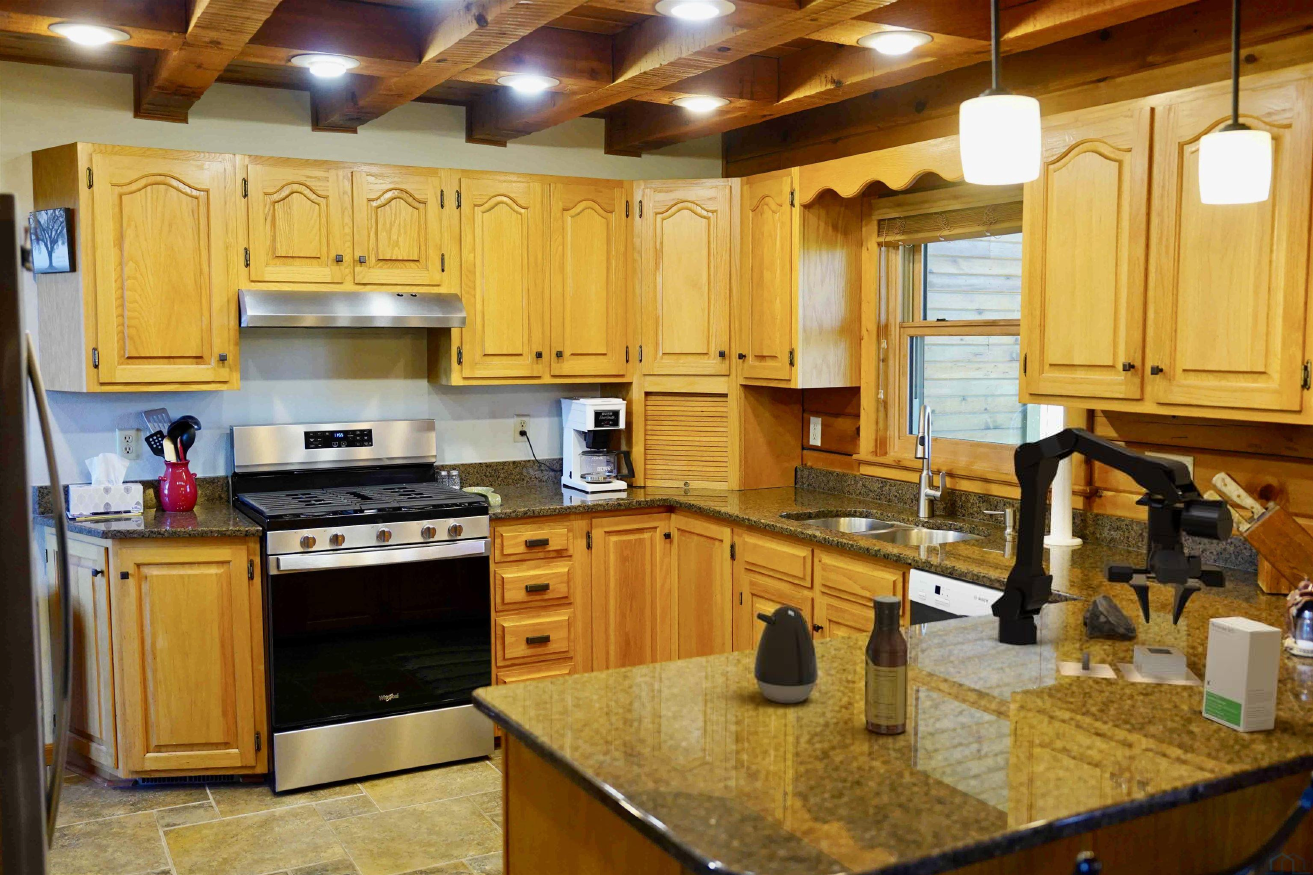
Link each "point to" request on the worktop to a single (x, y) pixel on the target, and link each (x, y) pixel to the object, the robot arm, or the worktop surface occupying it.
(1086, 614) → the carved stone fragment
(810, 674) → the pump dispenser
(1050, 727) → the worktop surface
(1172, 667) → the collar
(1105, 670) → the stand
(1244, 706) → the skincare box
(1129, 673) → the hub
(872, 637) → the sauce bottle
